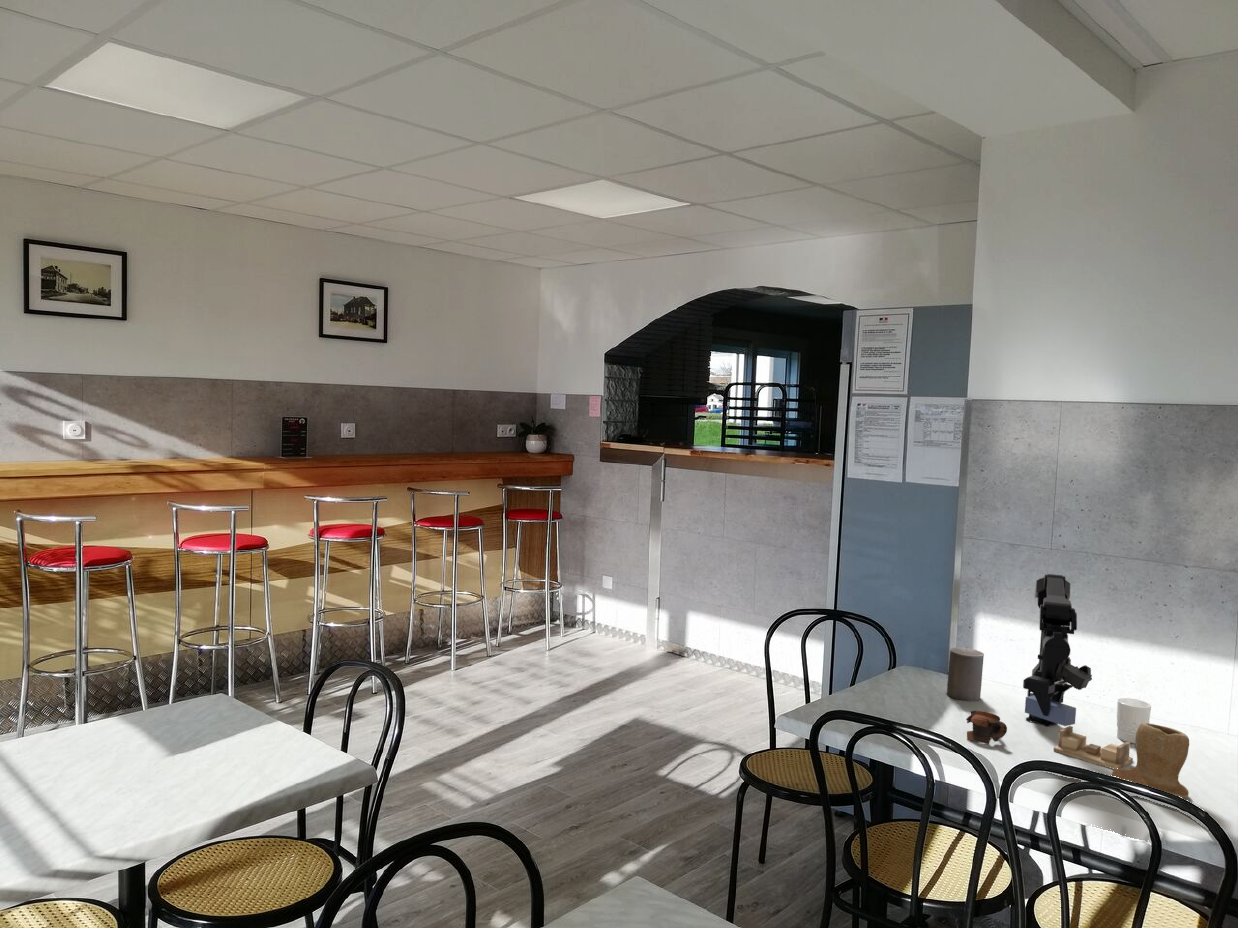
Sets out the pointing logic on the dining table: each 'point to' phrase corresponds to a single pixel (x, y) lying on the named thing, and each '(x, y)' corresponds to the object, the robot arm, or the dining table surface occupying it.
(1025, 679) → the robot arm
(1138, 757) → the stone cup
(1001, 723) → the pottery mug
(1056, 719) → the tall slate-blue box
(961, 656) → the pillar candle
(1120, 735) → the white cup
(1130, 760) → the display cradle
